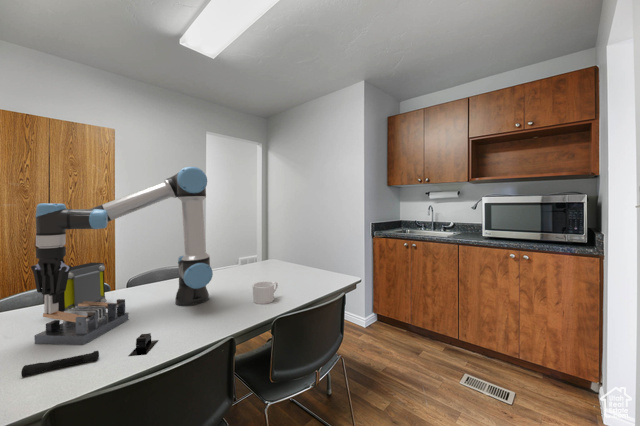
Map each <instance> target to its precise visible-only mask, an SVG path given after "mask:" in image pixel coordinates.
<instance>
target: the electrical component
mask: <svg viewBox="0 0 640 426" xmlns="http://www.w3.org/2000/svg"><path fill="white" fill-rule="evenodd" d="M105 269H106V266H105V264H104V262H87V263H84V264H82V263H81V264H78V265H73V266H71V269H70V271H69V275H68V280H67V285H66V290H65V291H64V292H61V293H60V301H59V302H58V311H60V312H64V311H68V309H71V308H75V307H76V306H78V304H79V303H81V302H84V301H91V302H105V303H107V299H106V296H105V295H106V294H105V272H104V271H105Z"/></svg>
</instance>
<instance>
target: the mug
mask: <svg viewBox="0 0 640 426" xmlns="http://www.w3.org/2000/svg"><path fill="white" fill-rule="evenodd" d="M278 286H279V284H278V282H277V281H273V282H272V281H259V282H255V283H253V284H252V297H253V303H254V304H257V305H266V304H269V303H270V304H271V303H273V301H274V300H275V299H274V298H275V292H276V291H277V289H278Z"/></svg>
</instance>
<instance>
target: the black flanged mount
mask: <svg viewBox="0 0 640 426" xmlns="http://www.w3.org/2000/svg"><path fill="white" fill-rule="evenodd" d="M135 340H136V341H135V348H134V349H133V350H132V351H131V352H130V354H129V355H128V357H136V356H146V355H148V354H149V352H150V351H151V350H152V349H153V348H154V347H155V346H156V345H157V343H158V342H159V341H160V340H159V339H157V340H155V339H154V340H152V333H141V334H140V335H139V336H138V337H137V338H136V339H135Z"/></svg>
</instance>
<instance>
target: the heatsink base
mask: <svg viewBox="0 0 640 426" xmlns="http://www.w3.org/2000/svg"><path fill="white" fill-rule="evenodd" d="M107 303H108V304H107V306H108V309H106V306H76V307H75V308H71V309H68V311H64V312H66V313H72V314H77V315H83V316H88V318H87V319H86V317H76V322H70V321H64V320H62V323H61V322H60V321H61V320H59V319H54V320H51V321H49V322H46V323H45V330H44V331H41V332H39V333H37V334H35V335H34V336H33V338H34V344H36V345H73V346H74V345H78V346H79V345H81V346H84V345H85V344H87V343H89V342H91V341H93V340H96V339H97V338H98V337H100V336H102V335H104V334H105V333H107V332H109V331H111V330H113V329H114V328H116V327H119V326H120V325H122V324H124V323H126V322H127V321H129V319H130V318H129V312H126V299H124V298H121V299H120V298H119V299H116V302H114V303H113V302H107ZM116 303H117V305H116Z"/></svg>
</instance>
